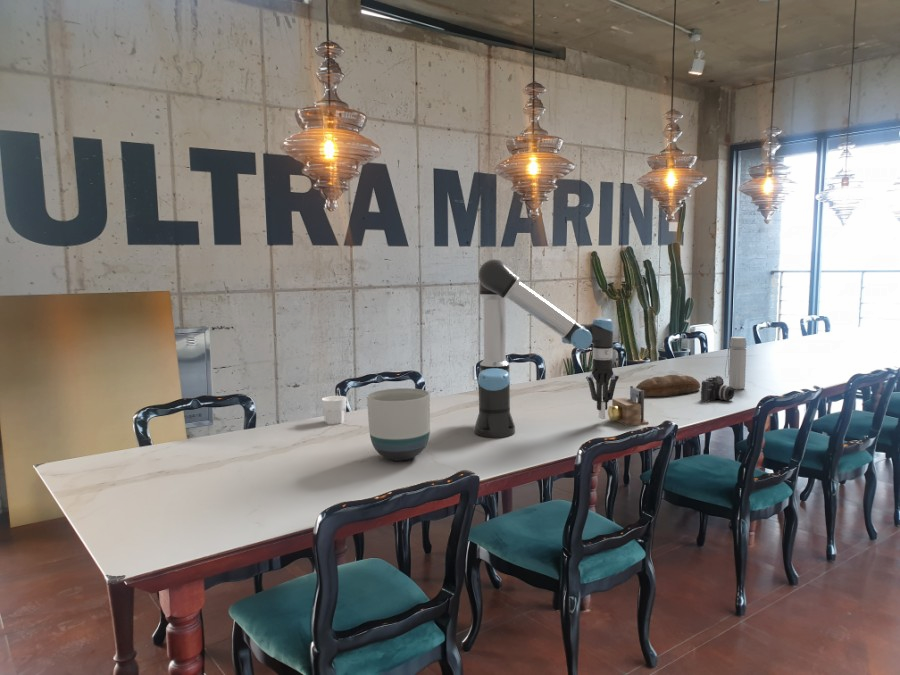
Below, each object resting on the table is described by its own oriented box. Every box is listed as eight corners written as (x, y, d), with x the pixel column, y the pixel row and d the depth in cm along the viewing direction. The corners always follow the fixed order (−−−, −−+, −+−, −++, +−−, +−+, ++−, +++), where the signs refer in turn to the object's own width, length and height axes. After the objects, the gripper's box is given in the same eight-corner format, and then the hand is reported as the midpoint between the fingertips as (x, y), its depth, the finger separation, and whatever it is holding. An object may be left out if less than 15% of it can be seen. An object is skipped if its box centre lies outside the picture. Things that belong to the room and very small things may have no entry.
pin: (614, 422, 236) (614, 407, 235) (607, 418, 241) (607, 404, 240) (643, 419, 238) (643, 405, 237) (636, 416, 243) (636, 402, 243)
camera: (722, 404, 264) (722, 382, 263) (698, 400, 272) (698, 378, 271) (737, 399, 273) (738, 377, 272) (714, 395, 281) (714, 374, 280)
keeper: (638, 407, 236) (638, 391, 236) (630, 403, 243) (630, 387, 242) (643, 406, 237) (643, 390, 236) (635, 403, 243) (635, 387, 243)
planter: (380, 471, 188) (377, 404, 185) (362, 453, 206) (360, 392, 204) (440, 461, 196) (439, 396, 193) (418, 445, 214) (416, 386, 212)
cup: (318, 424, 248) (317, 400, 247) (331, 418, 257) (330, 395, 256) (339, 425, 244) (338, 401, 243) (351, 419, 254) (350, 396, 252)
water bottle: (746, 387, 297) (747, 336, 294) (744, 390, 291) (745, 338, 288) (725, 385, 302) (727, 336, 299) (723, 388, 296) (724, 337, 293)
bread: (708, 391, 291) (709, 374, 290) (649, 400, 276) (649, 382, 275) (684, 386, 305) (684, 369, 304) (626, 394, 291) (626, 376, 290)
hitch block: (626, 425, 233) (626, 392, 232) (612, 418, 245) (612, 386, 243) (648, 423, 235) (648, 391, 233) (633, 416, 247) (633, 385, 245)
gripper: (590, 360, 230) (590, 421, 233) (622, 359, 233) (621, 419, 235) (582, 357, 237) (582, 416, 240) (613, 356, 240) (612, 414, 243)
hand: (601, 417), depth 238 cm, fingers closed
